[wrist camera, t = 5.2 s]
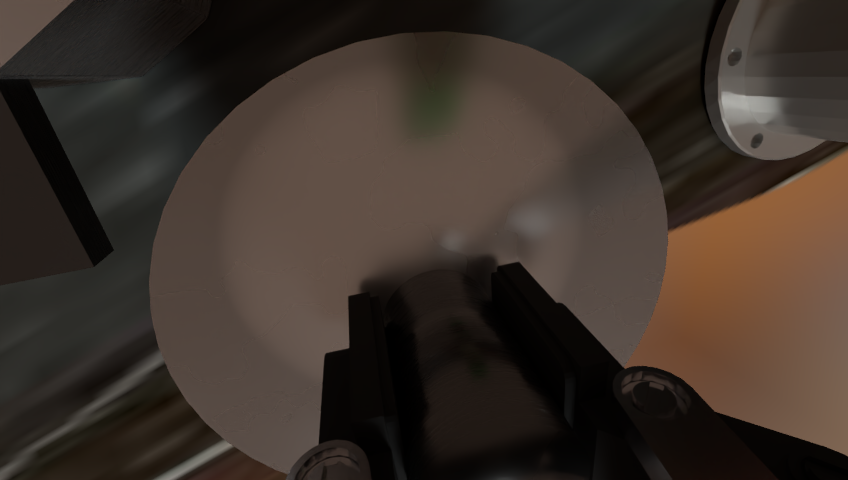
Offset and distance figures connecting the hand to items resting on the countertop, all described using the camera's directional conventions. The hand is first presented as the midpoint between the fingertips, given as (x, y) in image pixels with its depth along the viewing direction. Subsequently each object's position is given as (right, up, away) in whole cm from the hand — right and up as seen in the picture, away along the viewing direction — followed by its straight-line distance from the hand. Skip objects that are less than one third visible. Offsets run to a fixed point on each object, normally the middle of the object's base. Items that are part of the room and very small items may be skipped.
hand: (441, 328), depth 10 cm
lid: (0, +1, +1) cm, 2 cm away
